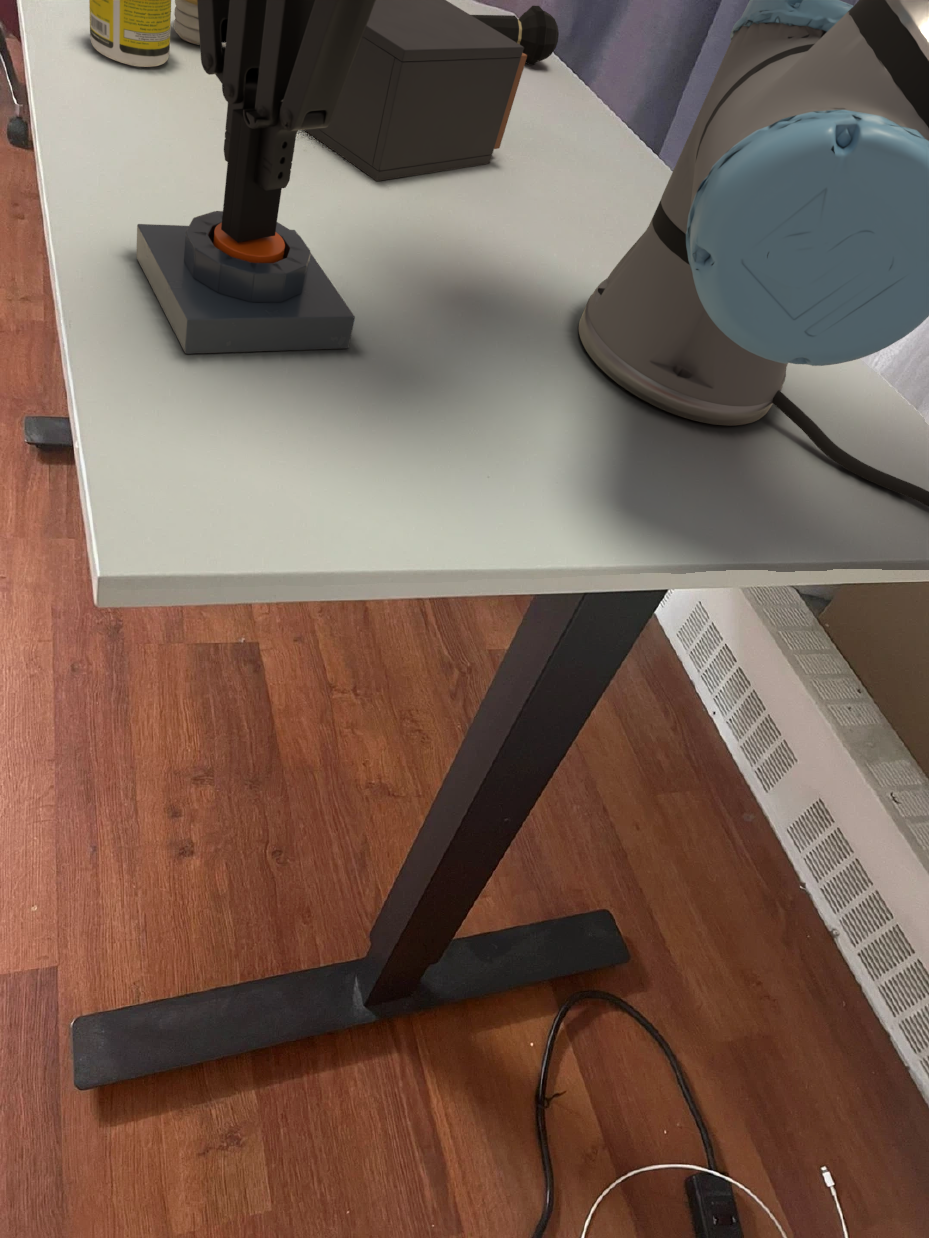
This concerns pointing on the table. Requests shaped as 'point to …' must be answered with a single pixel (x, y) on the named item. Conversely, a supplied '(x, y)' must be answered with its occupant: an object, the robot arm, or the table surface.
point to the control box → (240, 292)
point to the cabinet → (422, 91)
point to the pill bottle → (131, 30)
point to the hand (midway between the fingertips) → (248, 232)
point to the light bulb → (187, 20)
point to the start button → (250, 247)
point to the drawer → (510, 100)
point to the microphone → (527, 31)
